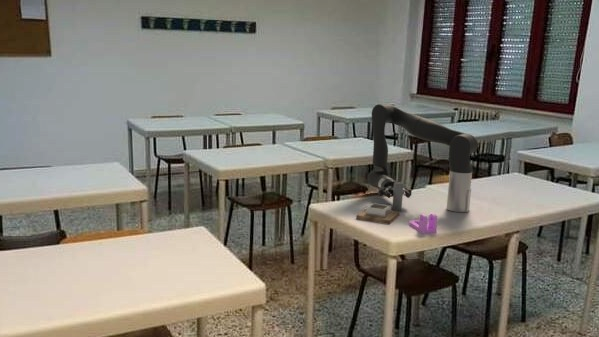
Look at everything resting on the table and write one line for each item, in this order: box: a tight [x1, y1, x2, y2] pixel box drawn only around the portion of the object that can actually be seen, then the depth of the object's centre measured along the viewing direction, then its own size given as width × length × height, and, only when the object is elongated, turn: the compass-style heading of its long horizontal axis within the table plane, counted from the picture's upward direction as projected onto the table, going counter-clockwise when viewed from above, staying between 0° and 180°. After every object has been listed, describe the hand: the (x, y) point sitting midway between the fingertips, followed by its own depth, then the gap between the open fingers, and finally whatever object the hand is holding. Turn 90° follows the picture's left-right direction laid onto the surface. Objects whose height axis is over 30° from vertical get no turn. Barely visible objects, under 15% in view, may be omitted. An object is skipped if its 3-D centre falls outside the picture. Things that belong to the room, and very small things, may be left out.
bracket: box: [408, 213, 438, 235], centre depth 209 cm, size 13×6×7 cm, turn 17°
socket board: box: [355, 202, 400, 225], centre depth 222 cm, size 14×14×4 cm
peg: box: [391, 181, 404, 213], centre depth 232 cm, size 4×4×12 cm
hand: (399, 195), depth 230 cm, fingers open, 8 cm apart
